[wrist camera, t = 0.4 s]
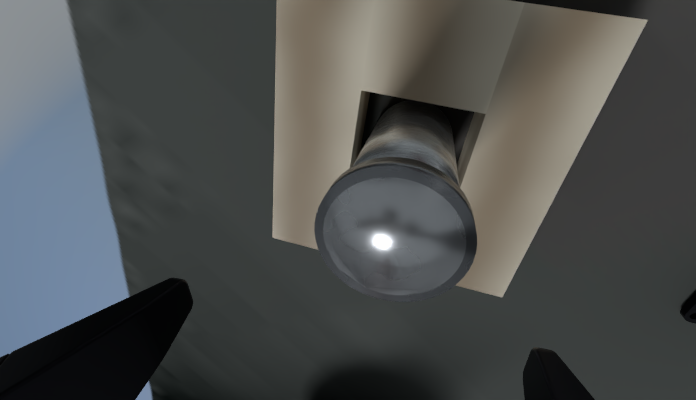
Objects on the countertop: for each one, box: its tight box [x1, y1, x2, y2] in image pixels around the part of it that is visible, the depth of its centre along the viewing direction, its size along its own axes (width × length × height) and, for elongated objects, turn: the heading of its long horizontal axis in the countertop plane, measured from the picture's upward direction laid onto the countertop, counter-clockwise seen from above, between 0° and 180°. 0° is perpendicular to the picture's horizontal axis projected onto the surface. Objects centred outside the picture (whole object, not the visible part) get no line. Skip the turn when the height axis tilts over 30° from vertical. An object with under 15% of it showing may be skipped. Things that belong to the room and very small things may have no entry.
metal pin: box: [314, 100, 477, 302], centre depth 14 cm, size 5×5×10 cm
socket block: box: [273, 0, 648, 297], centre depth 17 cm, size 14×14×3 cm
